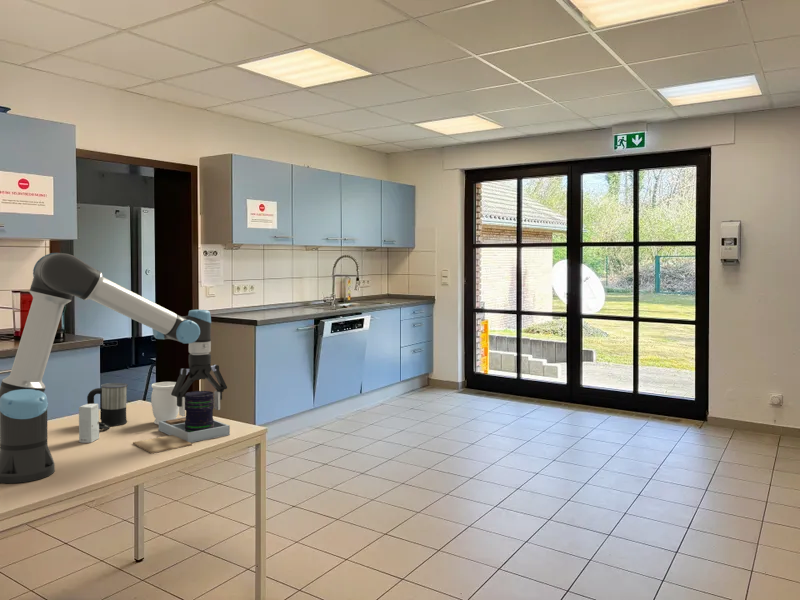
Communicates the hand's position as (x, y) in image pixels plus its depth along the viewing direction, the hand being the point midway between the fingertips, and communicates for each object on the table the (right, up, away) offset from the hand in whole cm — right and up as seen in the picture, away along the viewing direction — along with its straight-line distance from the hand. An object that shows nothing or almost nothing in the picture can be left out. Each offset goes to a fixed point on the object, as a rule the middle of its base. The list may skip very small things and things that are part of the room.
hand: (200, 412), depth 222 cm
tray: (-3, -8, +3) cm, 9 cm away
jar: (-18, -7, +16) cm, 25 cm away
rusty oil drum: (0, -8, 0) cm, 8 cm away
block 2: (-8, -8, +8) cm, 13 cm away
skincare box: (-35, -8, -10) cm, 37 cm away
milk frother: (-37, -7, +9) cm, 39 cm away
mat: (-9, -9, -13) cm, 17 cm away
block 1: (-11, -8, +4) cm, 14 cm away
